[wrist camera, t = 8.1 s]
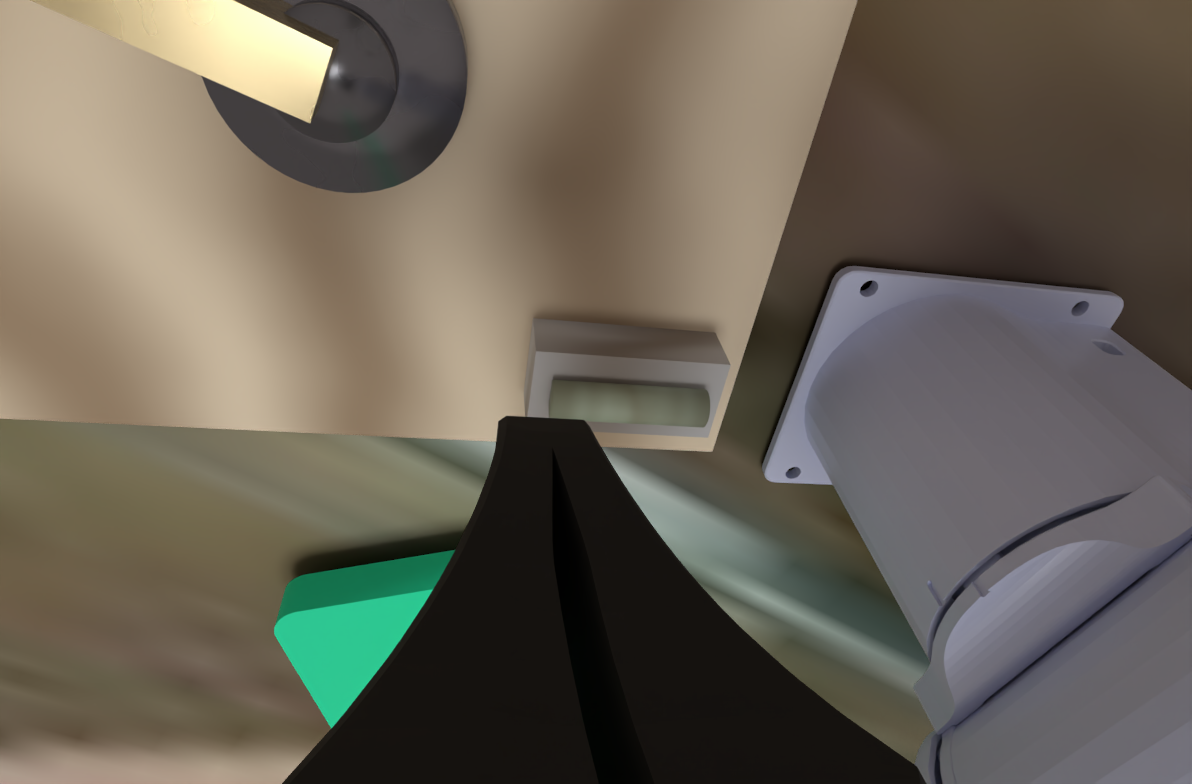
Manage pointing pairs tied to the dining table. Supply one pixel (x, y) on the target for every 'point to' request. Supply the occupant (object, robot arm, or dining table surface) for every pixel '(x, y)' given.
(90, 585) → the dining table surface
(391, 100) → the bar with round base
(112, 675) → the dining table surface
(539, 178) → the base plate
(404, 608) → the camera mount
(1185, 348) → the dining table surface
